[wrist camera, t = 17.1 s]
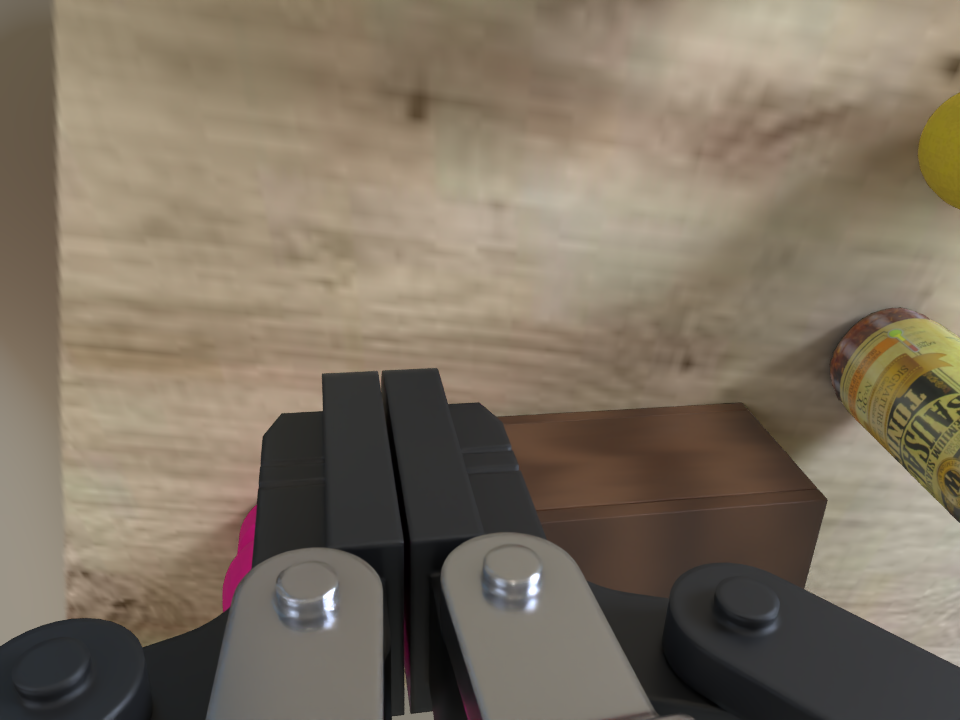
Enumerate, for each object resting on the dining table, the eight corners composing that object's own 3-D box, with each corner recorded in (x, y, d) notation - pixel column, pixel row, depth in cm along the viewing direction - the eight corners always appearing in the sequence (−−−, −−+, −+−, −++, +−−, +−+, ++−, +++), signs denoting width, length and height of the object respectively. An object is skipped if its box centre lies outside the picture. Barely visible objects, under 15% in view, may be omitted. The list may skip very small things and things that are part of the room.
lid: (492, 708, 42) (496, 723, 41) (504, 512, 37) (508, 525, 36) (770, 676, 44) (777, 689, 44) (818, 488, 39) (828, 499, 38)
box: (480, 594, 49) (508, 705, 42) (489, 416, 44) (522, 510, 37) (708, 573, 51) (769, 675, 44) (742, 402, 46) (818, 487, 39)
